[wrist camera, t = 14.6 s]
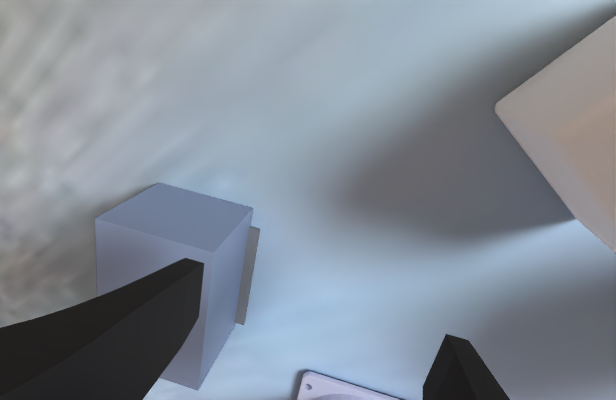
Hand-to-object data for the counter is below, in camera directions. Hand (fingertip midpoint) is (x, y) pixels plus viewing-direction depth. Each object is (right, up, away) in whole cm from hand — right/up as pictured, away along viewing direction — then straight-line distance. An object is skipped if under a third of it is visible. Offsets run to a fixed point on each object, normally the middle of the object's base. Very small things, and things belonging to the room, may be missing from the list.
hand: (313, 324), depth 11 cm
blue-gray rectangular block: (-7, 0, +12) cm, 14 cm away
